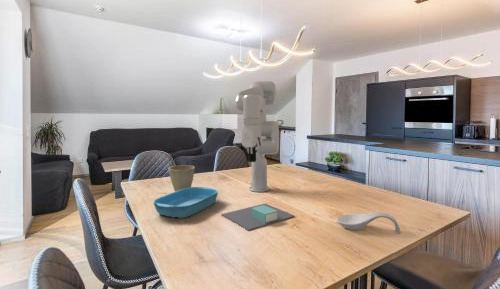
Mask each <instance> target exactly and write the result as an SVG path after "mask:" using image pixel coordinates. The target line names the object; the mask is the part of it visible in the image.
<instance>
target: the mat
mask: <svg viewBox="0 0 500 289" xmlns="http://www.w3.org/2000/svg"><path fill="white" fill-rule="evenodd" d="M262 205H265V206H267V207H270V208H272V209H274V210H277V211H278V220H275V221H271V222H268V223H263V222H261V221H259V220H257V219H256V218H254V217H252V208H254V207H258V206H262ZM221 216H222V217H224V218H225V219H226V220H229V221H230V220H231V221H230V222H232V223H234V224H235V223H236V224H235V225H237V224H238V225H237V226H239V227H240V226H241V228H242V227H243V228H242V229H244V228H245V229H244V230H246V231H247V230H248V232H250V231H253V230H257V229H260V228H263V227H266V225H267V226H270V225H273V224H276V223H280V222H283V221H286V220H290V219H293V218H296V216H295V215H294V214H292V213H289V212H287V211H284V210H282V209H280V208H277V207H275V206H273V205H270V204H268V203H262V204H257V205H253V206H249V207H245V208H240V209H237V210H232V211H228V212H225V213H222V214H221ZM269 224H270V225H269ZM262 226H263V227H262ZM259 227H260V228H259ZM256 228H257V229H256ZM252 229H253V230H252ZM249 230H250V231H249Z"/></svg>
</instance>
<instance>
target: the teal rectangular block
mask: <svg viewBox="0 0 500 289" xmlns="http://www.w3.org/2000/svg"><path fill="white" fill-rule="evenodd" d="M252 217H254V218H256V219H257V220H259V221H261V222H263V223H268V222H271V221H275V220H278V211H277V210H274V209H272V208H270V207H267V206H265V205H262V206H258V207H254V208H252Z"/></svg>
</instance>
